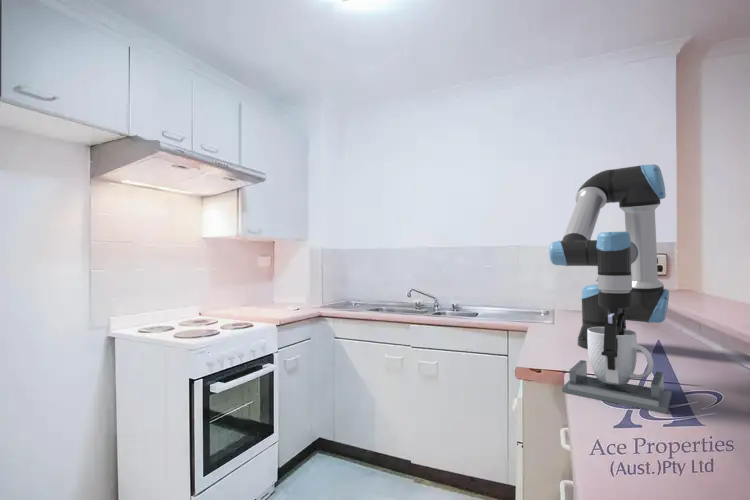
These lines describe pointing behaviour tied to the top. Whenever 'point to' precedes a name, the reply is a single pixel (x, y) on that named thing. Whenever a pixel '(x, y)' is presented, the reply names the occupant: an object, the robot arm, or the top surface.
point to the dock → (619, 390)
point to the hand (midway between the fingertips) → (616, 375)
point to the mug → (625, 355)
